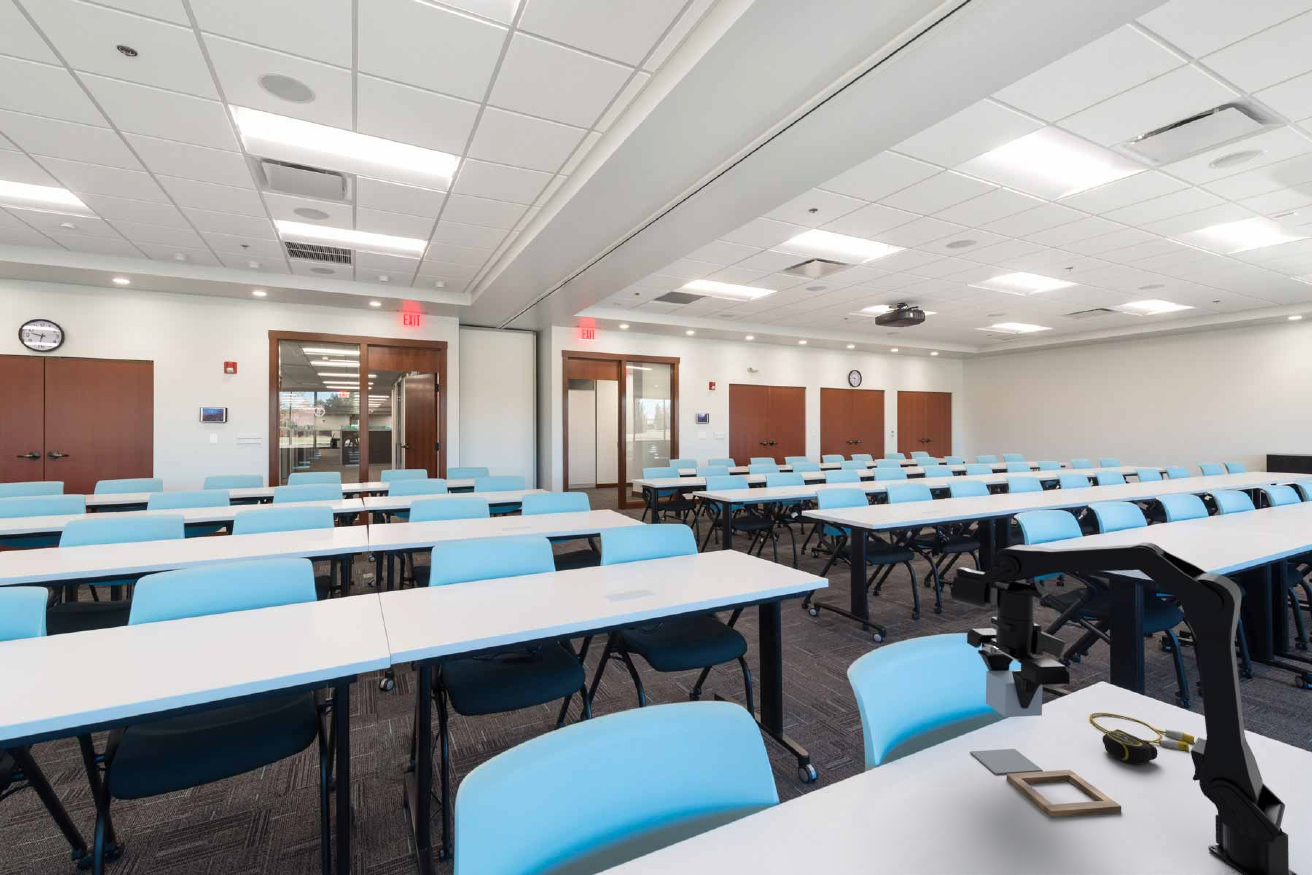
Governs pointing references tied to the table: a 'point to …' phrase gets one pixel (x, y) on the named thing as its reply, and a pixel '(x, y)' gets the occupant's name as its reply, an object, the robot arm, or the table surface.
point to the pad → (1005, 761)
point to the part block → (1009, 695)
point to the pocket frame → (1068, 809)
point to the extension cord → (1170, 733)
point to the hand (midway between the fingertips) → (1013, 700)
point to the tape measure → (1129, 747)
